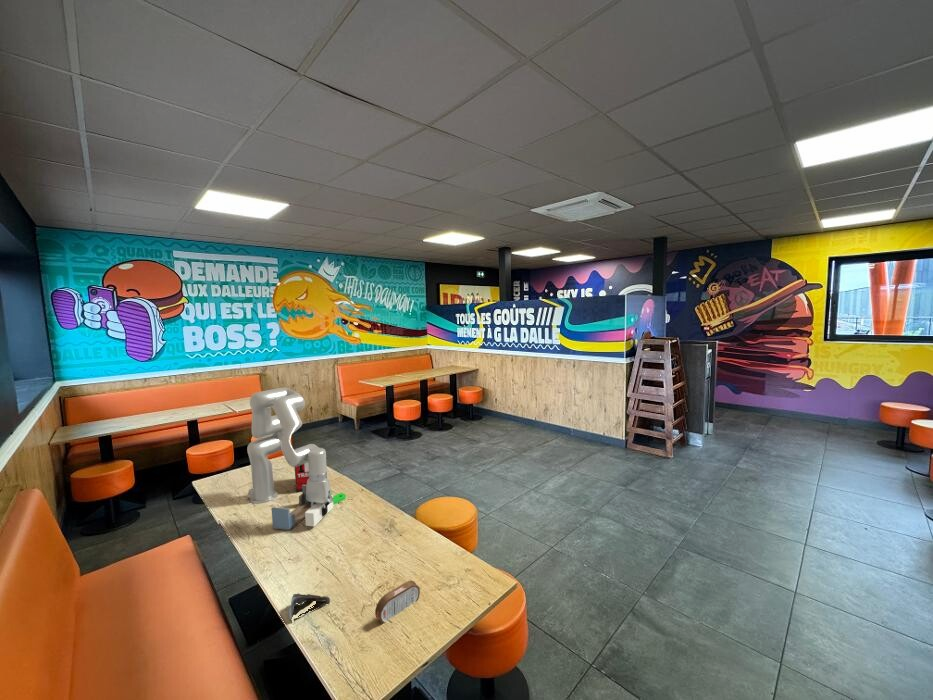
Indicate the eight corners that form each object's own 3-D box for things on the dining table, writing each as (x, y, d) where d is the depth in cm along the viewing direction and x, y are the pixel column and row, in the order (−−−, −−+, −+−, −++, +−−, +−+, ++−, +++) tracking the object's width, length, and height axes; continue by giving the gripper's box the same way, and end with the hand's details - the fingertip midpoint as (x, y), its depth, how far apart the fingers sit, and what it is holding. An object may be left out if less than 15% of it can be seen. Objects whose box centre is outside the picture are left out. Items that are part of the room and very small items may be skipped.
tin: (416, 598, 122) (415, 574, 122) (421, 603, 120) (421, 579, 119) (375, 624, 112) (373, 599, 111) (380, 631, 110) (379, 605, 109)
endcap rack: (272, 529, 163) (271, 508, 162) (304, 503, 186) (302, 484, 185) (291, 531, 162) (289, 509, 161) (320, 504, 184) (319, 485, 183)
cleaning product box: (314, 490, 199) (312, 454, 197) (296, 493, 197) (293, 456, 195) (317, 477, 215) (314, 444, 213) (300, 480, 212) (297, 446, 210)
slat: (305, 525, 162) (305, 512, 162) (325, 506, 178) (325, 494, 177) (314, 526, 162) (313, 513, 161) (333, 507, 177) (332, 495, 177)
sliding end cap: (272, 528, 163) (271, 508, 162) (278, 523, 167) (277, 503, 166) (289, 529, 161) (288, 509, 160) (295, 524, 165) (293, 505, 164)
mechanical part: (326, 509, 180) (325, 493, 179) (320, 505, 184) (319, 490, 183) (348, 499, 189) (347, 484, 188) (341, 496, 193) (341, 481, 192)
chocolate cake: (326, 591, 125) (295, 577, 121) (332, 598, 120) (300, 584, 116) (309, 623, 121) (276, 610, 117) (314, 632, 115) (280, 618, 111)
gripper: (296, 478, 165) (298, 517, 167) (330, 481, 162) (332, 520, 165) (306, 471, 173) (308, 508, 175) (339, 473, 170) (341, 511, 172)
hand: (320, 513), depth 170 cm, fingers closed on slat, 4 cm apart
